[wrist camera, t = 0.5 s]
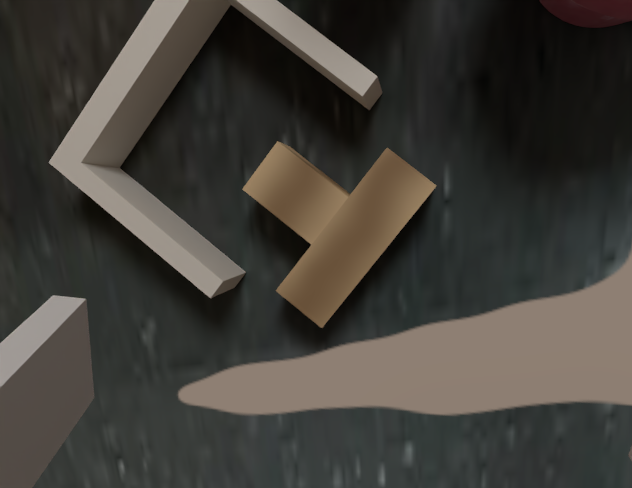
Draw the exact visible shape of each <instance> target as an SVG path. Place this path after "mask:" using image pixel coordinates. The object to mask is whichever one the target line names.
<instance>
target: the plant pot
mask: <svg viewBox="0 0 632 488" xmlns="http://www.w3.org/2000/svg"><path fill="white" fill-rule="evenodd" d="M539 1H540V2H541V4H542V5H543V6H544V7H545V8H546V9H547V10H548V11H549V12H550V13H552V14H553V15H554V16H556V17H558V18H559V19H561V20H562V21H565V22H567V23H570V24H573V25H576V26H580V27H588V28H602V27H609V26H614V25H618V24H621V23H625V22H629V21H632V0H539Z"/></svg>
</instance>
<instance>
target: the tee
mask: <svg viewBox="0 0 632 488" xmlns="http://www.w3.org/2000/svg"><path fill="white" fill-rule="evenodd" d="M435 187H436V185H435V184H434V183H432V182H431V181H430V180H428V179H427V178H426V177H425V176H423V175H422V174H421V173H419V172H418V171H417V170H416V169H414V168H413V167H412V166H410V165H409V164H408V163H406V162H405V161H404V160H403V159H401V158H400V157H399V156H397V155H396V154H395V153H393V152H392V151H391V150H390V149H388V148H386V149H385V151H384V152H383V153H382V155H381V156H380V157H379V158H378V160H377V161H376V162H375V164H374V165H373V166H372V167H371V169H370V170H369V171H368V173H367V174H366V175H365V176H364V178H363V179H362V180H361V182H360V183H359V184H358V185H357V187H356V188H355V189H354V191H353V192H352V193H351V194H350V193H348V192H347V191H346V190H344V189H343V188H342V187H341V186H339V185H338V184H337V183H336V182H334V181H333V180H332V179H330V178H329V177H328V176H327V175H325V174H324V173H323V172H322V171H320V170H319V169H318V168H316V167H315V166H314V165H313V164H311V163H310V162H309V161H308V160H306V159H305V158H304V157H302V156H301V155H300V154H299V153H297V152H296V151H295V150H294V149H292V148H291V147H289V146H287V145H285V144H283V143H280V142H278V141H277V143H276V144H275V145H274V147H273V148H272V150H271V151H270V152H269V154H268V155H267V156H266V158H265V159H264V160H263V162H262V163H261V164H260V166H259V167H258V169H257V170H256V171H255V173H254V174H253V175H252V177H251V178H250V179H249V181H248V182H247V184H246V185H245V186H244V188H243V190H244V191H245V192H246V193H248V194H249V195H250V196H251V197H253V198H254V199H255V200H256V201H258V202H259V203H260V204H261V205H263V206H264V207H265V208H266V209H268V210H269V211H270V212H271V213H273V214H274V215H275V216H276V217H278V218H279V219H280V220H281V221H283V222H284V223H285V224H286V225H287V226H289V227H290V228H291V229H292V230H294V231H295V232H296V233H297V234H299V235H300V236H301V237H302V238H304V239H305V240H306V241H307V242H309V243H310V244H311V246H310V247H309V249H308V250H307V251H306V252H305V254H304V255H303V256H302V258H301V259H300V260H299V261H298V263H297V264H296V265H295V267H294V268H293V269H292V270H291V272H290V273H289V274H288V276H287V277H286V278H285V279H284V281H283V282H282V283H281V285H280V286H279V287H278V288H277V290H276V291H277V292H278V293H279V294H280V295H282V296H283V297H284V298H285V299H286V300H288V301H289V302H290V303H291V304H293V305H294V306H295V307H296V308H297V309H299V310H300V311H301V312H302V313H304V314H305V315H306V316H307V317H308V318H310V319H311V320H312V321H313V322H315V323H316V324H317V325H318V326H319V327H321V328H322V327H323V326H324V325H325V324H326V322H327V321H328V320H329V319H330V318H331V316H332V315H333V314H334V313H335V311H336V310H337V309H338V308H339V306H340V305H341V304H342V303H343V301H344V300H345V299H346V298H347V296H348V295H349V294H350V293H351V292H352V290H353V289H354V288H355V287H356V285H357V284H358V283H359V282H360V280H361V279H362V278H363V277H364V275H365V274H366V273H367V272H368V270H369V269H370V268H371V267H372V265H373V264H374V263H375V262H376V261H377V259H378V258H379V257H380V256H381V254H382V253H383V252H384V251H385V249H386V248H387V247H388V246H389V244H390V243H391V242H392V241H393V239H394V238H395V237H396V236H397V235H398V233H399V232H400V231H401V230H402V228H403V227H404V226H405V225H406V223H407V222H408V221H409V220H410V218H411V217H412V216H413V215H414V213H415V212H416V211H417V210H418V208H419V207H420V206H421V205H422V204H423V202H424V201H425V200H426V199H427V197H428V196H429V195H430V194H431V192H432V191H433V190H434V189H435Z"/></svg>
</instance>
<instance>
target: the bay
mask: <svg viewBox="0 0 632 488" xmlns="http://www.w3.org/2000/svg"><path fill="white" fill-rule="evenodd" d="M230 5H232V6H233V7H235V8H236V9H237V10H239V11H240V12H241V13H242V14H244V15H245V16H246V17H248V18H249V19H250V20H252V21H253V22H254V23H256V24H257V25H258V26H259V27H261V28H262V29H263V30H265V31H266V32H267V33H269V34H270V35H271V36H273V37H274V38H275V39H276V40H278V41H279V42H280V43H282V44H283V45H284V46H286V47H287V48H288V49H290V50H291V51H292V52H293V53H295V54H296V55H297V56H299V57H300V58H301V59H303V60H304V61H305V62H307V63H308V64H309V65H311V66H312V67H313V68H314V69H316V70H317V71H318V72H320V73H321V74H322V75H324V76H325V77H326V78H328V79H329V80H330V81H331V82H333V83H334V84H335V85H337V86H338V87H339V88H341V89H342V90H343V91H345V92H346V93H347V94H348V95H350V96H351V97H352V98H354V99H355V100H356V101H358V102H359V103H360V104H362V105H363V106H364V107H365V108H367V109H368V110H370V109H371V108H372V106H373V105H374V104H375V102H376V101H377V100H378V98H379V97H380V96H381V94H382V90H381V86H380V83H379V80H378V76H376V75H375V74H374V73H372V72H371V71H370V70H368V69H367V68H366V67H364V66H363V65H362V64H360V63H359V62H358V61H356V60H355V59H354V58H352V57H351V56H350V55H348V54H347V53H346V52H344V51H343V50H342V49H340V48H339V47H338V46H337V45H335V44H334V43H333V42H331V41H330V40H329V39H327V38H326V37H325V36H323V35H322V34H321V33H319V32H318V31H317V30H315V29H314V28H313V27H311V26H310V25H309V24H307V23H306V22H305V21H303V20H302V19H301V18H299V17H298V16H297V15H295V14H294V13H293V12H291V11H290V10H289V9H287V8H286V7H285V6H283V5H282V4H281V3H280V2H278V1H277V0H155V1H154V2H153V4H152V5H151V7H150V8H149V10H148V11H147V13H146V14H145V16H144V17H143V19H142V21H141V22H140V24H139V25H138V27H137V28H136V30H135V31H134V33H133V34H132V36H131V37H130V39H129V40H128V42H127V43H126V45H125V47H124V48H123V50H122V51H121V53H120V54H119V56H118V57H117V59H116V60H115V62H114V63H113V65H112V66H111V68H110V69H109V71H108V73H107V74H106V76H105V77H104V79H103V80H102V82H101V83H100V85H99V86H98V88H97V89H96V91H95V92H94V94H93V95H92V97H91V99H90V100H89V102H88V103H87V105H86V106H85V108H84V109H83V111H82V112H81V114H80V115H79V117H78V118H77V120H76V121H75V123H74V125H73V126H72V128H71V129H70V131H69V132H68V134H67V135H66V137H65V138H64V140H63V141H62V143H61V144H60V146H59V147H58V149H57V151H56V152H55V154H54V155H53V157H52V158H51V160H50V161H49V163H50V164H51V165H52V166H53V167H55V168H56V169H57V170H58V171H59V172H61V173H62V174H63V175H64V176H65V177H67V178H68V179H69V180H70V181H71V182H73V183H74V184H75V185H76V186H77V187H78V188H80V189H81V190H82V191H83V192H84V193H86V194H87V195H88V196H89V197H90V198H92V199H93V200H94V201H95V202H96V203H98V204H99V205H100V206H101V207H102V208H103V209H105V210H106V211H107V212H108V213H109V214H111V215H112V216H113V217H114V218H115V219H117V220H118V221H119V222H120V223H121V224H123V225H124V226H125V227H126V228H127V229H128V230H130V231H131V232H132V233H133V234H134V235H136V236H137V237H138V238H139V239H140V240H142V241H143V242H144V243H145V244H146V245H147V246H149V247H150V248H151V249H152V250H153V251H155V252H156V253H157V254H158V255H159V256H161V257H162V258H163V259H164V260H165V261H167V262H168V263H169V264H170V265H171V266H172V267H174V268H175V269H176V270H177V271H178V272H180V273H181V274H182V275H183V276H184V277H186V278H187V279H188V280H189V281H190V282H192V283H193V284H194V285H195V286H196V287H197V288H199V289H200V290H201V291H202V292H203V293H205V294H206V295H207V296H208V297H209V298H212V297H215V296H217V295H219V294H221V293H224V292H226V291H228V290H230V289H233V288H235V287H236V285H237V284H238V283H239V281H240V280H241V279H242V277H243V276H244V275H245V273H246V272H245V271H244V270H243V269H241V268H240V267H239V266H238V265H237V264H235V263H234V262H233V261H232V260H231V259H229V258H228V257H227V256H226V255H225V254H223V253H222V252H221V251H220V250H218V249H217V248H216V247H215V246H214V245H212V244H211V243H210V242H209V241H208V240H206V239H205V238H204V237H203V236H202V235H200V234H199V233H198V232H197V231H196V230H194V229H193V228H192V227H191V226H189V225H188V224H187V223H186V222H185V221H183V220H182V219H181V218H180V217H179V216H177V215H176V214H175V213H174V212H173V211H171V210H170V209H169V208H168V207H166V206H165V205H164V204H163V203H162V202H160V201H159V200H158V199H157V198H156V197H154V196H153V195H152V194H151V193H150V192H148V191H147V190H146V189H145V188H143V187H142V186H141V185H140V184H139V183H137V182H136V181H135V180H134V179H133V178H131V177H130V176H129V175H128V174H127V173H125V172H124V171H123V170H122V169H121V168H120V167H121V165H122V164H123V162H124V161H125V159H126V158H127V156H128V155H129V153H130V152H131V150H132V149H133V148H134V146H135V145H136V143H137V142H138V140H139V139H140V137H141V136H142V134H143V133H144V131H145V130H146V128H147V127H148V126H149V124H150V123H151V121H152V120H153V118H154V117H155V115H156V114H157V112H158V111H159V109H160V108H161V107H162V105H163V104H164V102H165V101H166V99H167V98H168V96H169V95H170V93H171V92H172V90H173V89H174V87H175V86H176V85H177V83H178V82H179V80H180V79H181V77H182V76H183V74H184V73H185V71H186V70H187V68H188V67H189V65H190V64H191V63H192V61H193V60H194V58H195V57H196V55H197V54H198V52H199V51H200V49H201V48H202V46H203V45H204V43H205V42H206V41H207V39H208V38H209V36H210V35H211V33H212V32H213V30H214V29H215V27H216V26H217V24H218V23H219V21H220V20H221V19H222V17H223V16H224V14H225V13H226V11H227V10H228V8H229V7H230Z"/></svg>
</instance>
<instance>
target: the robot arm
mask: <svg viewBox="0 0 632 488" xmlns="http://www.w3.org/2000/svg"><path fill="white" fill-rule="evenodd" d="M93 399H94V389H93V377H92V364H91V352H90V339H89V327H88V315H87V302H86V299H82V298H73V297H63V296H54V295H53V296H52V297H51V298H50V299H49V300H48V301H47V302H45V303H44V304H43V305H42V306H41V307H40V308H39V309H38V310H37V311H35V312H34V313H33V314H32V315H31V316H30V317H29V318H28V319H27V320H26V321H24V322H23V323H22V324H21V325H20V326H19V327H18V328H17V329H16V330H15V331H13V332H12V333H11V334H10V335H9V336H8V337H7V338H6V339H5V340H3V341H2V342H1V343H0V488H32V487H33V486H34V484H35V483H36V481H37V480H38V479H39V477H40V476H41V474H42V473H43V471H44V470H45V468H46V467H47V465H48V464H49V463H50V461H51V460H52V458H53V457H54V455H55V454H56V452H57V451H58V449H59V448H60V447H61V445H62V444H63V442H64V441H65V439H66V438H67V436H68V435H69V434H70V432H71V431H72V429H73V428H74V426H75V425H76V423H77V422H78V420H79V419H80V418H81V416H82V415H83V413H84V412H85V410H86V409H87V407H88V406H89V404H90V403H91V402H92V400H93ZM628 456H629V457H630V459H631V460H632V447H631V450H630V452H629V455H628Z"/></svg>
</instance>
